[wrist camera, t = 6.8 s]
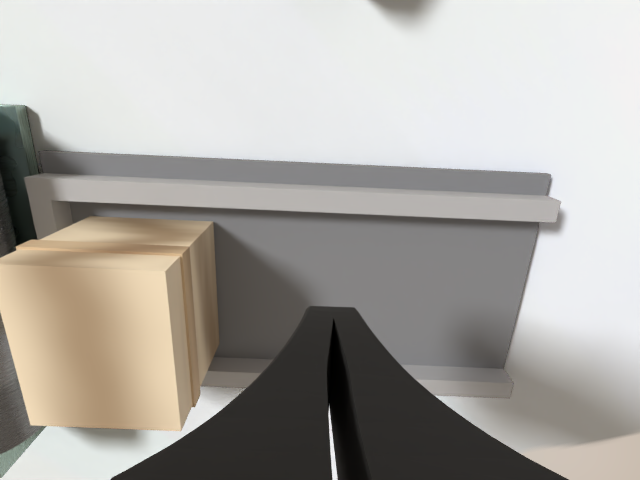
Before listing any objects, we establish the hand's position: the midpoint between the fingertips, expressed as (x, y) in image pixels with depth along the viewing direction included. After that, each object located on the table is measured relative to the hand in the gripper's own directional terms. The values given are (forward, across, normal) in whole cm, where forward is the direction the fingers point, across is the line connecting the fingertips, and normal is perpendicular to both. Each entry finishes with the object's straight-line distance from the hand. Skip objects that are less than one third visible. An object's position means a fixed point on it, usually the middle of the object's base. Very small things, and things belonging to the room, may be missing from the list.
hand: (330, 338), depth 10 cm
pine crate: (+9, +9, +3) cm, 13 cm away
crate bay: (+9, +2, +3) cm, 10 cm away
